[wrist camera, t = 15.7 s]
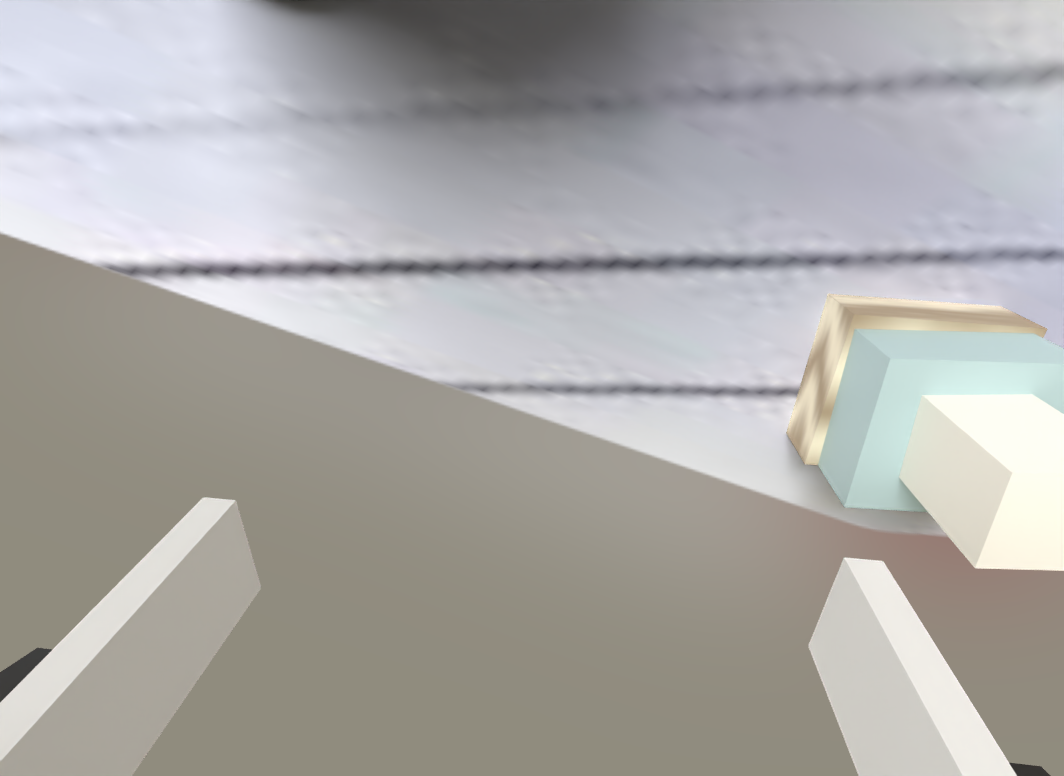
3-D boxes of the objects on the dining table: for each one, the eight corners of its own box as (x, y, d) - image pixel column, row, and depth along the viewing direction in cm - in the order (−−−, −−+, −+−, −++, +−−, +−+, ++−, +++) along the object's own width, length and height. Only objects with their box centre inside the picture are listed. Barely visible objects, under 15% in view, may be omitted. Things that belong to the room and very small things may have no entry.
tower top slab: (854, 328, 36) (890, 358, 32) (1033, 333, 35) (1096, 365, 31) (817, 465, 41) (844, 507, 37) (973, 472, 40) (1020, 517, 36)
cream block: (921, 395, 33) (1012, 472, 26) (1032, 393, 32) (1156, 473, 25) (898, 477, 35) (974, 568, 28) (1000, 477, 35) (1104, 571, 27)
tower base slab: (826, 292, 40) (854, 314, 36) (997, 304, 39) (1047, 328, 35) (784, 430, 46) (804, 464, 41) (934, 444, 45) (970, 480, 40)
